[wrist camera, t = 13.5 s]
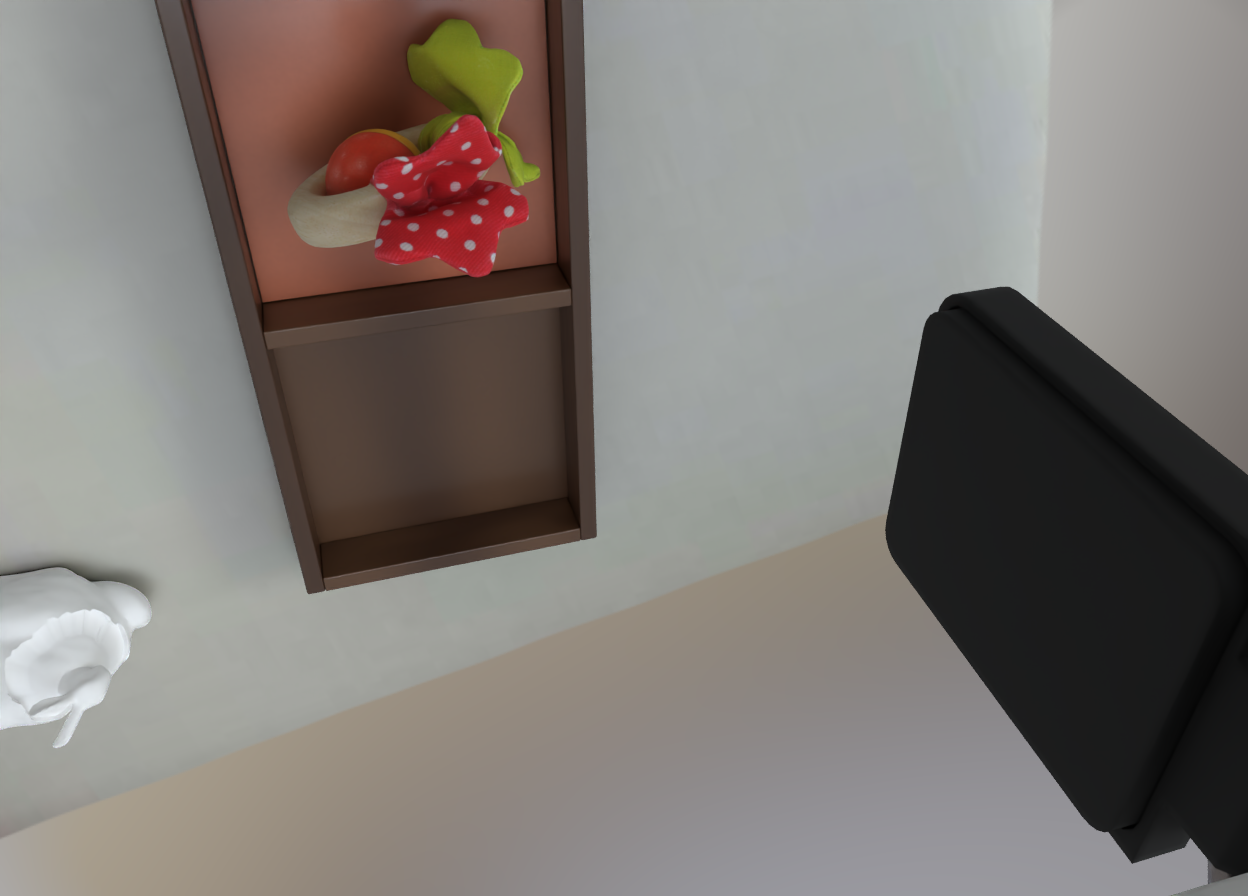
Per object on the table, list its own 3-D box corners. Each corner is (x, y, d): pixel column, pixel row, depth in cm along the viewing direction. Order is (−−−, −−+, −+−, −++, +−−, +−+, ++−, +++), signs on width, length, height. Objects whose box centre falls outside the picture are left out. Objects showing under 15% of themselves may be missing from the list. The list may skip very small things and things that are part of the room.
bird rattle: (393, 209, 43) (594, 142, 39) (308, 392, 35) (551, 326, 32) (305, 71, 39) (521, -16, 36) (187, 242, 31) (452, 150, 28)
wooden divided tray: (560, -77, 37) (581, -60, 35) (581, 499, 53) (597, 537, 50) (152, -52, 34) (145, -32, 31) (304, 552, 50) (307, 595, 47)
